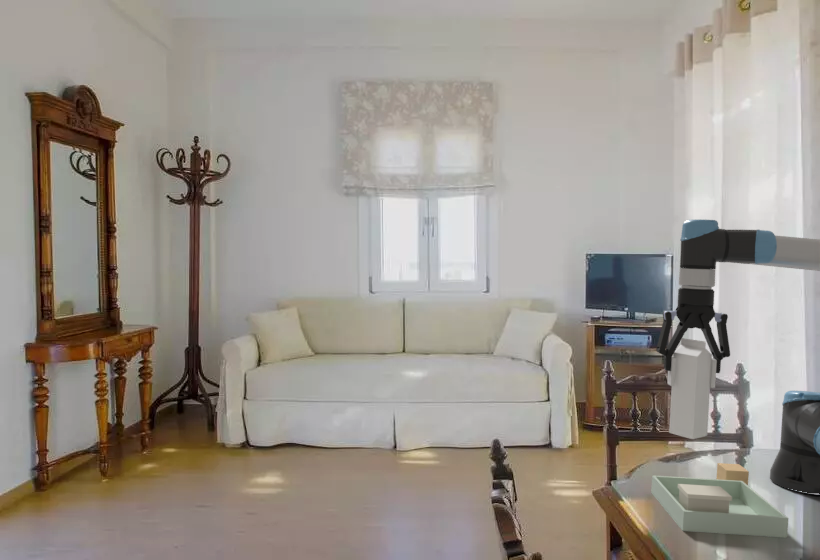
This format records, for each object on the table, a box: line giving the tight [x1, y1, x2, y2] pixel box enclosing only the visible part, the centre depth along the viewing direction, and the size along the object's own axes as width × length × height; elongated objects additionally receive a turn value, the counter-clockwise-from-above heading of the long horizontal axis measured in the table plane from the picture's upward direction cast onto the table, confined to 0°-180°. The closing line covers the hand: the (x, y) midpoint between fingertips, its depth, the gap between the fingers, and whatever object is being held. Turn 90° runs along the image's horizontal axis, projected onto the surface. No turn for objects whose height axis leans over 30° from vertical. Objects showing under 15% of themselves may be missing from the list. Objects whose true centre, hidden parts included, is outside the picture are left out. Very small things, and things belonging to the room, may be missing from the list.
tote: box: [650, 474, 789, 539], centre depth 136 cm, size 20×20×4 cm
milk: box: [668, 337, 713, 440], centre depth 148 cm, size 6×6×22 cm
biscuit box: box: [716, 462, 750, 486], centre depth 150 cm, size 5×5×6 cm
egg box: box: [678, 484, 732, 513], centre depth 131 cm, size 9×6×7 cm, turn 86°
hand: (690, 385), depth 148 cm, fingers closed on milk, 8 cm apart
